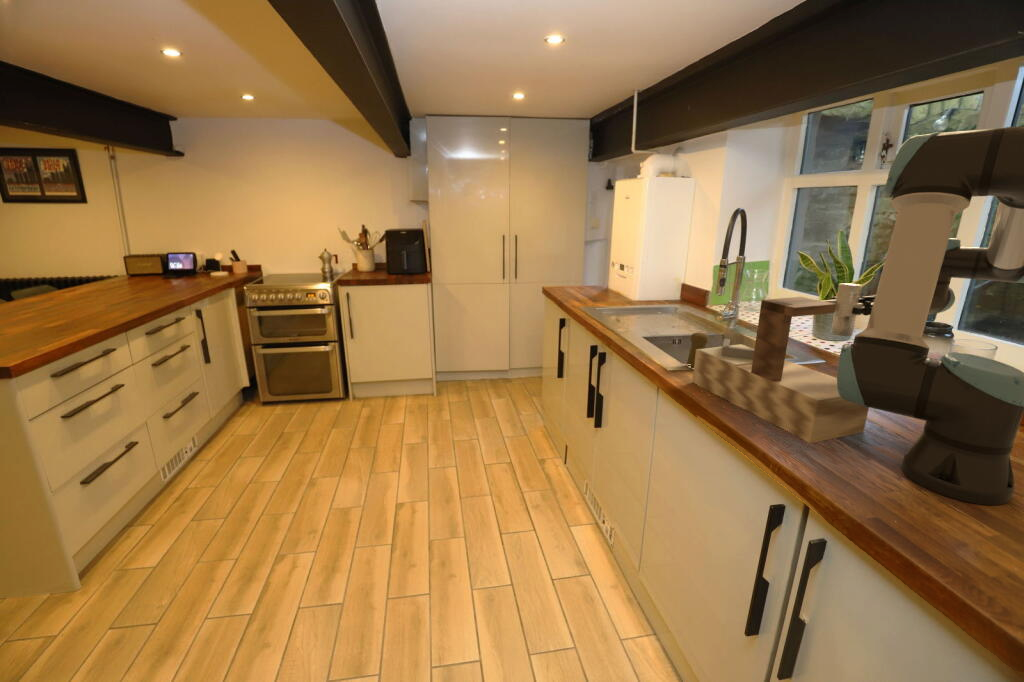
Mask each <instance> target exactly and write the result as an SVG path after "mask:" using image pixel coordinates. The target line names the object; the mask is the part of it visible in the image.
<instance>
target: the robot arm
mask: <svg viewBox="0 0 1024 682" xmlns="http://www.w3.org/2000/svg"><path fill="white" fill-rule="evenodd" d="M887 176H888V177H887V179H886V182H885V187H884V188H885V189H884V193H885V196H886V197H887V198H890V199H891V201H890V202H891V203H890V206H891V207H892V208H893V209H894V210H895V211H896V212H897V216H896V220H895V222H894V226H893V227H894V228H893V229H892V235H891V237H890V241H889V245H888V249H887V253H886V256H885V259H884V263H883V267H882V271H881V274H880V279H879V282H878V285H877V289H876V293H875V294H872V295H863V296H860V297H859V303H855V304H844V305H840V307H839V312H838V316H839V317H846V316H856V317H857V316H861V315H862V316H863V315H864V316H866V317H867V316H869V318H868V322H867V326H866V328H865V329H864V330H862V331H861V332H860V331H859V332H858V333H857V334H855V335H854V339H853V343H851V342H850V343H849V342H848V343H845V344H843V345H842V346H841V350H840V353H839V356H838V357H839V358H838V362H837V371H836V372H837V373H836V378H837V388H838V392H839V395H840V396H841V398H843V399H844V400H846V401H848V402H852V403H856V404H859V405H863V406H864V407H869V408H871V409H875V410H878V411H883V412H889V413H891V414H894V415H895V414H897V415H900V416H905V417H908V418H912V419H917V420H922V421H924V422H925V424H924V427H923V430H922V433H921V434H920V436H919V437H918V438H917V439H916V440H915V442H914V443H913V444H912V445H911V446H910V448H909V450H908V451H907V452H906V453H905V454H904V455H903V459H902V462H901V470H902V472H903V473H904V474H905V475H906V476H907V477H908V478H909V479H910V480H912V481H914V482H915V483H917V484H918V485H920V486H922V487H925V488H926V489H928V490H930V491H933V492H935V493H937V494H941V496H942V495H943V496H945V497H949V498H951V499H952V498H953V499H955V500H958V501H962V502H966V503H973V504H979V505H988V506H996V505H997V506H999V505H1000V506H1001V505H1004V504H1007V503H1010V501H1011V500H1012V498H1013V495H1014V492H1015V490H1016V489H1015V488H1016V487H1015V481H1014V480H1015V479H1014V474H1013V467H1012V460H1011V453H1012V450H1013V447H1014V445H1015V441H1016V437H1017V434H1018V431H1019V428H1020V425H1021V422H1022V418H1023V416H1024V371H1022V370H1020V369H1018V368H1016V367H1014V366H1012V365H1010V364H1007V363H1004V362H1001V361H999V360H995V359H992V358H988V357H984V356H980V355H975V354H971V353H964V352H963V353H961V352H953V351H952V352H946V353H944V354H943V356H941V357H940V359H939V358H933V357H928V355H929V352H930V346H929V345H928V343H926V341H924V339H923V334H924V331H925V327H926V324H927V320H928V317H929V315H930V316H931V315H936V314H940V313H944V312H946V311H948V310H950V309H951V308H952V306H953V305H954V304H955V302H956V301H955V300H956V296H955V292H954V290H953V289H952V288H951V287H950V285H951V280H952V278H955V279H964V280H965V279H967V280H969V279H970V280H981V281H991V282H1003V283H1004V282H1005V283H1011V284H1016V283H1018V284H1019V283H1021V284H1022V283H1023V284H1024V126H1005V127H999V128H988V129H987V128H986V129H974V130H973V129H972V130H960V131H948V132H940V131H935V132H933V133H927V134H918V135H914V136H911V137H909V138H907V139H906V140H905V141H904V142H903V143H902V145H900V147H899V149H898V151H897V152H896V154H895V156H894V158H893V161H892V163H891V166H890V169H889V171H888V175H887ZM988 196H989V197H995V198H996V200H997V201H998V206H997V211H996V213H995V218H994V222H993V227H992V230H991V234H990V235H991V236H990V239H989V243H988V247H981V246H980V247H977V246H976V247H975V246H963V245H962V244H961V243H962V242H961V239H959V238H954V237H951V234H952V233H951V232H952V230H953V226H954V223H955V219H956V216H957V214H959V213H960V212H963V211H964V210H966V209H967V208H969V206H970V205H971V201H972V198H973V197H988ZM961 245H962V246H961ZM836 299H837V296H832V297H830V299H827V300H825V299H823V300H821V301H824V302H829V303H834V304H836Z"/></svg>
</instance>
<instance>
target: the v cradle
mask: <svg viewBox="0 0 1024 682" xmlns="http://www.w3.org/2000/svg"><path fill="white" fill-rule="evenodd" d="M730 343H731V339H730V338H723V343H722V346H717V347H716V346H715V347H706V348H705V349H699V350H698V351H701V352H703V353H705V354H708V355H710V356H713V357H715V358H717V359H720V360H722V361H725V362H727V363H729V364H732V365H734V366H740V365H748V364H752V363H753V356H754V349H755V348H753V349H750V348H751V347H750V348H747V347H744V346H741V345H739V344H731V345H730Z"/></svg>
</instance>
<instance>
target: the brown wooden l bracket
mask: <svg viewBox="0 0 1024 682" xmlns="http://www.w3.org/2000/svg"><path fill="white" fill-rule="evenodd" d="M760 303H761V304H760V308H759V309H760V311H759V318H758V323H757V329H756V330H757V331H756V336H755V344H754V348H753V349H754V356H753V363H752V370H751V373H753V374H756V375H758V376H761V377H763V378H765V379H768V380H770V381H773V382H774V381H780V380H781V379H782V373H783V367H784V361H785V360H786V354H787V350H788V342H789V335H790V330H791V329H790V328H791V325H792V319H793V318H794V317H803V316H805V317H806V316H816V315H824V314H825V315H826V314H834V312H835V307H836V304H834V303H829V302H824V301H822V300H818V299H813V298H809V297H808V298H807V297H804V296H796V297H784V298H783V297H782V298H771V299H762V300H761V301H760Z"/></svg>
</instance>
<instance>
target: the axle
mask: <svg viewBox="0 0 1024 682" xmlns="http://www.w3.org/2000/svg"><path fill="white" fill-rule="evenodd" d="M862 287H863V285H862V284H860V283H859V284H858V283H846V282H845V283H843V282H842V283H841V282H840V283H839V284H838V288H837V293H836V297H837V299H836V307H835V312H834V313H833V317H832V318H833V319H832V322H831V329H830V334H832V335H835V336H841V337H852V336H853V334H854V327H855V325H856V318H857V315H856V316H846V317H839V316H838V312H839V307H840V305H844V304H855V303H859V297H860V298H861V293H862V292H861V291H862Z"/></svg>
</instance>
